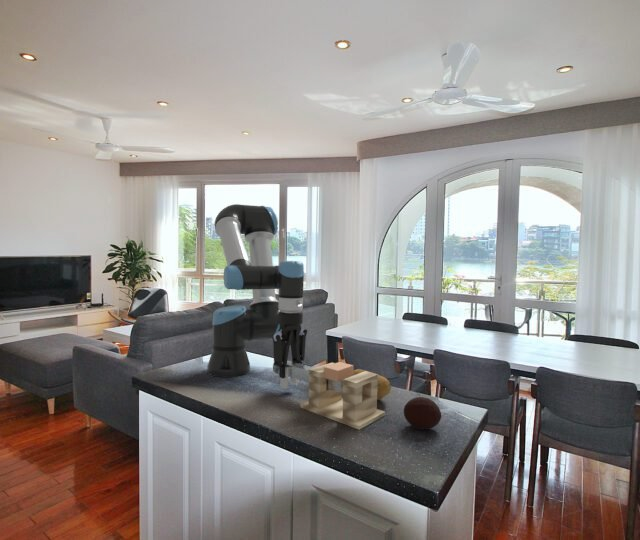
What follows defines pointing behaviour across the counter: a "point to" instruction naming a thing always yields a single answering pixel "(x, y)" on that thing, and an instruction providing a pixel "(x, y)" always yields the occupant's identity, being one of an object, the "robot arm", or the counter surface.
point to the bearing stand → (344, 398)
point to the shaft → (302, 374)
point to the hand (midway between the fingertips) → (289, 385)
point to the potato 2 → (422, 413)
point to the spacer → (338, 371)
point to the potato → (378, 385)
